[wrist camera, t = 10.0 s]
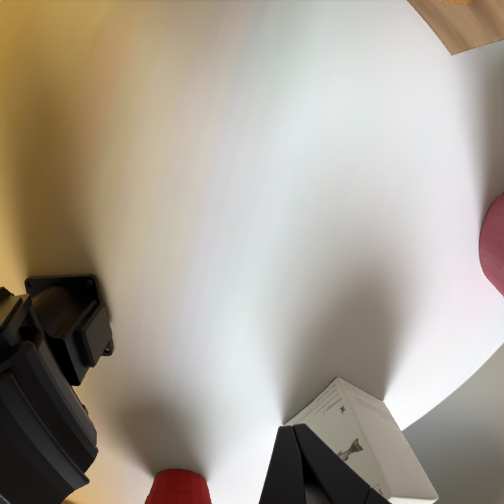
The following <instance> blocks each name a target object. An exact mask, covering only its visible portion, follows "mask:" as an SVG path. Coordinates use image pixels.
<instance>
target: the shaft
mask: <svg viewBox="0 0 504 504" xmlns="http://www.w3.org/2000/svg"><path fill="white" fill-rule="evenodd" d="M439 1H442V2H444V3H447V4H451V5H465V4H468V3H470V2H471V1H473V0H439Z"/></svg>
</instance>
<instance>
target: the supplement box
mask: <svg viewBox="0 0 504 504" xmlns="http://www.w3.org/2000/svg"><path fill="white" fill-rule="evenodd" d="M300 423H305V424H306V425H307V426H308V427H309V428H310V429H311V430H312V431H313V432H314V433H315V434H316V435H317V436H318V437H319V438H320V439H321V440H322V441H323V442H325V443H326V444H327V445H328V446H329V447H330V448H331V449H332V450H333V451H334V452H335V453H336V454H337V455H338V456H339V457H340V458H341V459H342V460H343V461H344V462H345V463H346V464H347V465H348V466H350V467H351V468H352V469H353V470H354V471H355V472H356V473H357V474H358V475H359V476H360V477H361V478H363V479H364V480H365V481H366V482H367V483H368V484H369V485H370V486H371V487H373V488H374V489H375V490H376V491H377V492H378V493H379V494H381V495H382V496H383V497H384V498H386V499H387V500H388V501H389V502H391V503H392V504H432V503H434V502H435V501H436V500H438V499H439V497H438V495H437V493H436V491H435V490H434V488H433V486H432V484H431V482H430V481H429V479H428V477H427V475H426V474H425V472H424V470H423V468H422V466H421V465H420V463H419V461H418V460H417V458H416V456H415V454H414V453H413V451H412V449H411V447H410V446H409V444H408V442H407V440H406V439H405V437H404V436H403V434H402V432H401V430H400V429H399V427H398V425H397V423H396V422H395V420H394V418H393V417H392V415H391V413H390V412H389V410H388V408H387V407H386V405H385V403H384V402H382V401H381V400H379V399H377V398H375V397H373V396H372V395H370V394H368V393H366V392H364V391H363V390H361V389H359V388H357V387H356V386H354V385H352V384H350V383H348V382H347V381H345V380H343V379H341V378H339V377H337V378H336V379H335V380H334V381H333V382H332V383H331V384H330V385H329V386H328V387H327V388H326V389H325V390H324V391H323V392H322V393H321V394H320V395H319V396H318V397H317V398H316V399H315V400H314V401H312V402H311V403H310V404H309V405H308V406H307V407H306V408H304V409H303V410H302V411H301V412H300V413H299V414H297V415H296V416H295V417H294V418H292V419H291V420H290V421H289V422H287V423H286V424H285V425H291V426H292V425H294V424H300ZM285 425H283V426H285ZM371 487H370V488H371Z"/></svg>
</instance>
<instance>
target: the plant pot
mask: <svg viewBox="0 0 504 504" xmlns="http://www.w3.org/2000/svg"><path fill="white" fill-rule="evenodd" d="M479 257H480V263H481V267H482V270H483V273H484V275H485V276H486V278H487V279H488V280H489V281H490V282H491V283H492V284H493V285H494V286H495V287H496V288H497V290H498V291H499V292H500V293H501V294H502V295H503V296H504V193H502V194H501V195H500V196H498V197H497V198H496V200H495V201H494V202H493V204H492V205H491V207H490V209H489V211H488V213H487V215H486V217H485V220H484V223H483V226H482V230H481V235H480V243H479Z"/></svg>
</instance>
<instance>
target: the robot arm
mask: <svg viewBox="0 0 504 504" xmlns="http://www.w3.org/2000/svg"><path fill="white" fill-rule="evenodd" d="M88 280H91V281H92V284H90V283H89V282H88ZM29 282H30V283H31V284H32V286H31V285H30V283H29ZM24 283H25V288H26V292H27V294H24V295H19V296H14V294H13V293H10V292H9V291H8V290H7V289H5V288H4V287H0V504H61V502H62V501H63V500H64V499H65V498H66V497H67V496H69V495H70V494H71V493H72V492H74V491H75V490H77V489H79V488H81V487H83V486H85V485H87V484H88V483H89V482H90V480H89V479H88V478H87V476H86V475H85V474H84V473H85V472H86V471H87V470H88V468H89V467H90V466H91V464H92V463H93V462H94V460H95V458H96V456H97V453H98V448H97V447H96V444H97V432H96V429H95V427H94V425H93V423H92V421H91V420H90V418H89V416H88V411H87V409H86V407H85V406H84V405H82V403H81V402H80V400H79V398H78V397H77V395H76V393H75V392H74V390H73V388H72V386H79V385H80V384H81V382H82V380H83V378H84V377H85V375H86V373H87V371H88V369H89V367H92V368H93V367H94V366H95V365H96V364H97V362H98V360H99V358H100V356H110V355H112V353H113V351H114V347H113V344H112V340H111V336H112V332H111V328H110V324H109V320H108V316H107V311H106V307H105V305H104V304H103V303H102V300H101V295H100V291H99V286H98V281H97V278H96V277H95V276H94V275H92V274H83V275H60V276H36V277H28V278H27V279H26V280H25V282H24ZM105 348H107V349H109V351H108V350H106V349H105ZM370 487H371V486H370V485H369V484H368V483H367V482H366V481H365V480H364V479H363V478H361V477H360V476H359V475H358V474H357V473H356V472H355V471H354V470H353V469H352V468H351V467H350V466H348V465H347V464H346V463H345V462H344V461H343V460H342V459H341V458H340V457H339V456H338V455H337V454H336V453H335V452H334V451H333V450H332V449H331V448H330V447H329V446H328V445H327V444H326V443H325V442H323V441H322V440H321V439H320V438H319V437H318V436H317V435H316V434H315V433H314V432H313V431H312V430H311V429H310V428H309V427H308V426H307V425H306V424H305V423H300V424H294V425H292V426H291V425H285V426H280V427H279V428H278V432H277V436H276V440H275V444H274V448H273V452H272V456H271V460H270V464H269V468H268V471H267V475H266V479H265V483H264V486H263V490H262V493H261V497H260V501H259V504H392V503H391V502H389V501H388V500H387V499H386V498H384V497H383V496H382V495H381V494H379V493H378V492H377V491H376V490H375V489H374V488H373V487H371V488H370Z"/></svg>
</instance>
